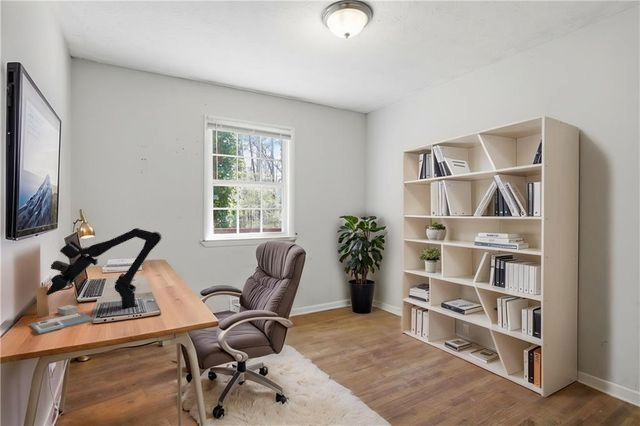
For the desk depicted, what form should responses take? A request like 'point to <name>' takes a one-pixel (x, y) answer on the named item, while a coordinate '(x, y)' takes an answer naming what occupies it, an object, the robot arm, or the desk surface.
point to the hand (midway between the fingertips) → (51, 292)
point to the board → (60, 322)
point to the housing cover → (67, 310)
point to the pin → (42, 301)
